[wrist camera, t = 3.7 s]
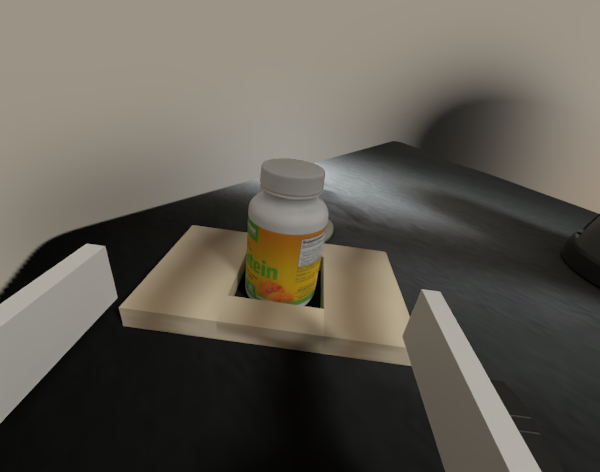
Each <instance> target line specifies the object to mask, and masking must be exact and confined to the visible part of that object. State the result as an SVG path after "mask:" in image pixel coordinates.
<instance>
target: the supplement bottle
mask: <svg viewBox="0 0 600 472" xmlns="http://www.w3.org/2000/svg"><path fill="white" fill-rule="evenodd" d="M324 178H325V171H324V169H323V168H321V167H320V166H318V165H316V164H313V163H309V162H306V161H302V160H294V159H272V160H267V161H265V162H264V163H263V164H262V166H261V178H260V182H261V184H260V186H261V188H262V190H264V191H262V192H260V193H258V194H257V195H255V196H254V197H253V198H252V200H251V201H250V204H249V209H248V233H247V255H246V276H245V277H246V278H245V287H246V292H247V294H248V296H249V298H250V299H256V300H264V301H271V302H278V303H285V304H292V305H300V306H305V305H306V304H307V303H308V302H309V301H310V300H311V299H312V297H313V295H314V291H315V287H316V282H317V277H318V271H319V266H320V261H321V255H322V250H323V245H324V239H325V234H326V229H327V223H328V209H327V206H326V205H325V203H324V202H323V201H322V200H321V199H320V198H318V196H319V195H321V193H322V190H323V185H324Z"/></svg>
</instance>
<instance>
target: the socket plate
mask: <svg viewBox="0 0 600 472" xmlns="http://www.w3.org/2000/svg"><path fill="white" fill-rule="evenodd" d="M246 255H247V233H246V232H239V231H232V230H224V229H217V228H210V227H203V226H196V225H192V226H191V227H190V229H189V230H188V231H187V232H186V233H185V234H184V235H183V236H182V237H181V239H180V240H179V241H178V242H177V243H176V244H175V245H174V246H173V248H172V249H171V250H170V251H169V252H168V253H167V254H166V255H165V256H164V258H163V259H162V260H161V261H160V262H159V263H158V264H157V265H156V267H155V268H154V269H153V270H152V271H151V272H150V273H149V274H148V275H147V277H146V278H145V279H144V280H143V281H142V282H141V283H140V284H139V286H138V287H137V288H136V289H135V290H134V291H133V292H132V293H131V294H130V296H129V297H128V298H127V299H126V300H125V301H124V302H123V303H122V305H121V306H120V307H119V310H120V314H121V319H122V323H123V326H128V327H135V328H142V329H149V330H157V331H164V332H171V333H178V334H185V335H192V336H200V337H207V338H214V339H221V340H228V341H235V342H242V343H250V344H257V345H264V346H271V347H278V348H285V349H293V350H300V351H307V352H314V353H321V354H328V355H336V356H343V357H350V358H357V359H364V360H371V361H379V362H386V363H393V364H400V365H407V366H412V365H411V362H410V359H409V356H408V353H407V350H406V347H405V343H404V340H403V337H402V336H403V333H404V331H405V328H406V326H407V323H408V321H409V319H410V316H409V314H408V311H407V308H406V305H405V303H404V300H403V297H402V295H401V292H400V289H399V287H398V284H397V281H396V278H395V276H394V273H393V270H392V268H391V265H390V262H389V260H388V257H387V254H386V252H383V251H375V250H368V249H361V248H354V247H347V246H339V245H332V244H325V243H324V245H323V250H322V255H321V261H320V266H319V271H321V308H314V307H307V306H300V305H292V304H285V303H278V302H271V301H264V300H256V299H249V298H242V297H235V293H236V291H237V288H238V286H239V283H240V281H241V278H242V276H243V273H244V271H245V269H246Z"/></svg>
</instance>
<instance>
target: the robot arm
mask: <svg viewBox="0 0 600 472" xmlns="http://www.w3.org/2000/svg"><path fill="white" fill-rule="evenodd" d="M561 255H562V257H563V259H564V260H565V261H566V263H567V264H568V265H569V266H570V267H571V268H573V269H574V270H575V271H576V272H578V273H579V274H580V275H582V276H583V277H585V278H586V279H588V280H589V281H591V282H592V283H594V284H596V285H597V286H599V287H600V214H599V215H598V216H597V217H595V218H594V219H593V220H592V221H591V222H590V223H589V224H587V225H586V226H585V227H584V228H583V229H580V230H578V231H576V232H575V233H574V234H573V235H572V236H571V237H570V239H569V240H568V242H567V243H566V245H565V246H564V248H563V249H562V251H561ZM117 298H118V297H117V293H116V289H115V285H114V280H113V276H112V272H111V268H110V264H109V260H108V255H107V251H106V247H105V246H101V245H93V244H85V245H84V246H83V247H81V248H80V249H78V250H77V251H75V252H74V253H73V254H71V255H70V256H68V257H67V258H65V259H64V260H63V261H61V262H60V263H58V264H57V265H55V266H54V267H53V268H51V269H50V270H48V271H47V272H45V273H44V274H43V275H41V276H40V277H38V278H37V279H35V280H34V281H32V282H31V283H30V284H28V285H27V286H25V287H24V288H22V289H21V290H20V291H18V292H17V293H15V294H14V295H12V296H11V297H10V298H8V299H7V300H5V301H4V302H2V303H1V304H0V423H1V422H2V421H3V420H4V419H5V418H6V417H7V416H8V414H9V413H10V412H11V411H12V410H13V409H14V408H15V407H16V406H17V405H18V404H19V403H20V402H21V401H22V399H23V398H24V397H25V396H26V395H27V394H28V393H29V392H30V391H31V390H32V389H33V388H34V387H35V386H36V384H37V383H38V382H39V381H40V380H41V379H42V378H43V377H44V376H45V375H46V374H47V373H48V372H49V371H50V369H51V368H52V367H53V366H54V365H55V364H56V363H57V362H58V361H59V360H60V359H61V358H62V357H63V356H64V354H65V353H66V352H67V351H68V350H69V349H70V348H71V347H72V346H73V345H74V344H75V343H76V342H77V341H78V339H79V338H80V337H81V336H82V335H83V334H84V333H85V332H86V331H87V330H88V329H89V328H90V327H91V326H92V324H93V323H94V322H95V321H96V320H97V319H98V318H99V317H100V316H101V315H102V314H103V313H104V312H105V311H106V309H107V308H108V307H109V306H110V305H111V304H112V303H113V302H114V301H115V300H116V299H117ZM402 337H403V340H404V343H405V347H406V350H407V353H408V356H409V359H410V362H411V365H412V369H413V372H414V375H415V378H416V381H417V384H418V387H419V390H420V394H421V397H422V400H423V403H424V406H425V409H426V412H427V416H428V419H429V422H430V425H431V428H432V431H433V434H434V438H435V441H436V444H437V447H438V450H439V453H440V456H441V460H442V463H443V466H444V469H445V472H565V471H564V469H563V468H562V466H561V465H560V463H559V461H558V460H557V458H556V457H555V455H554V453H553V452H552V450H551V449H550V447H549V445H548V444H547V442H546V441H545V439H544V437H543V436H541V435H540V431H539V429H538V428H537V426H536V425H535V423H534V421H533V420H531V419H530V415H529V413H528V412H527V410H526V409H525V407H524V405H523V404H522V402H521V401H520V399H519V398H518V397H517V396H516V395H515V393H514V392H513V391H512V390H511V389H510V388H509V387H508V386H507V385H506V384H505V383H504V382H502V381H495V380H490V379H489V378H488V376H487V374H486V372H485V370H484V369H483V367H482V365H481V363H480V362H479V360H478V358H477V356H476V355H475V353H474V351H473V349H472V347H471V346H470V344H469V342H468V340H467V339H466V337H465V335H464V333H463V331H462V330H461V328H460V326H459V324H458V323H457V321H456V319H455V317H454V316H453V314H452V312H451V310H450V308H449V307H448V305H447V303H446V301H445V300H444V298H443V296H442V294H441V293H440V292H438V291H431V290H424V289H422V290H421V292H420V294H419V297H418V299H417V302H416V304H415V307H414V309H413V311H412V314H411V316H410V319H409V321H408V323H407V326H406V328H405V331H404V333H403V336H402Z"/></svg>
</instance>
